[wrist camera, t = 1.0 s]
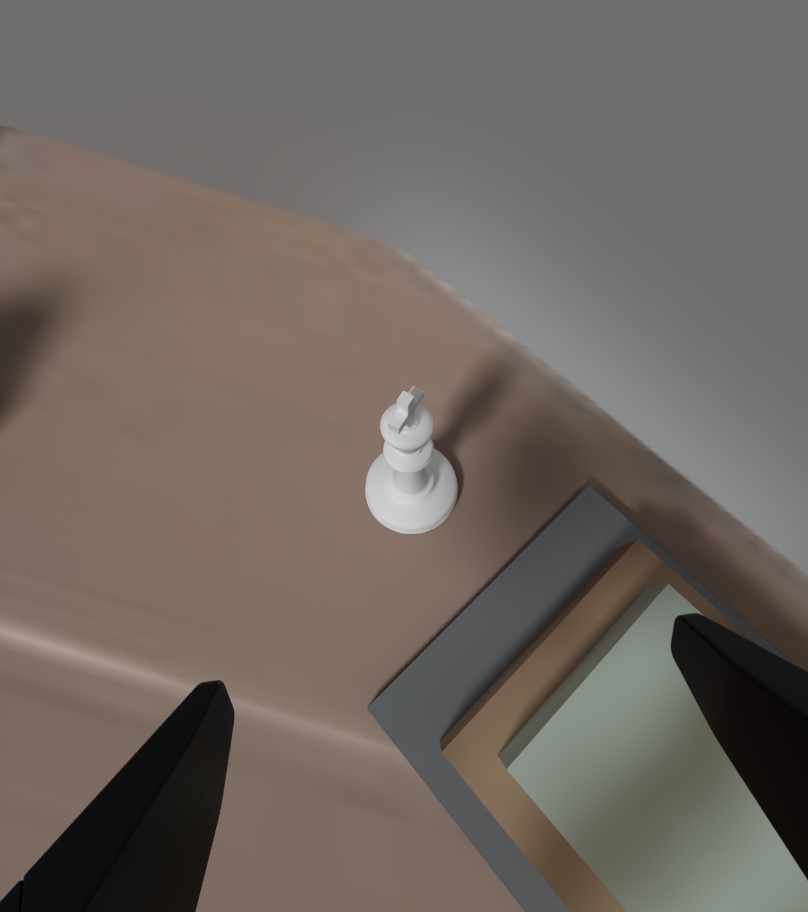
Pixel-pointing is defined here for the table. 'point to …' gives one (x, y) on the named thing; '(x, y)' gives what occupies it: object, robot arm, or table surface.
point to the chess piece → (410, 471)
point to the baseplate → (491, 651)
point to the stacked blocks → (621, 760)
